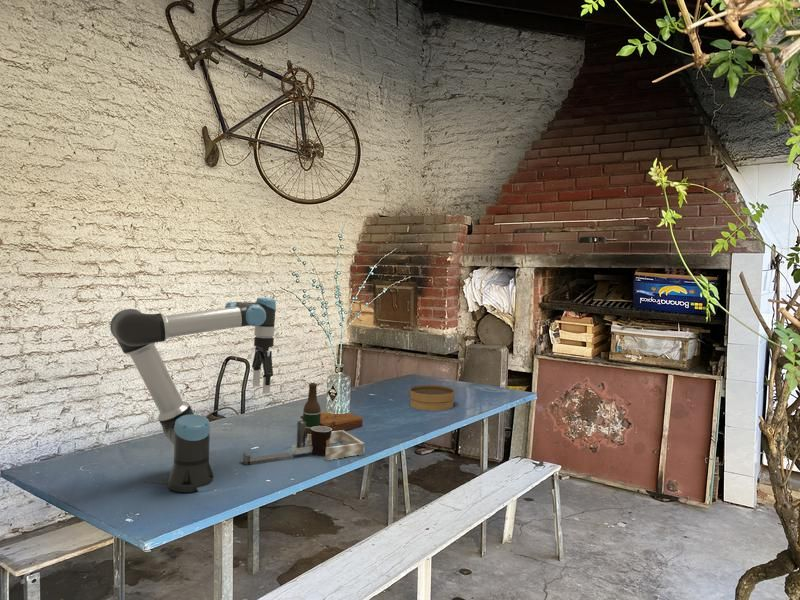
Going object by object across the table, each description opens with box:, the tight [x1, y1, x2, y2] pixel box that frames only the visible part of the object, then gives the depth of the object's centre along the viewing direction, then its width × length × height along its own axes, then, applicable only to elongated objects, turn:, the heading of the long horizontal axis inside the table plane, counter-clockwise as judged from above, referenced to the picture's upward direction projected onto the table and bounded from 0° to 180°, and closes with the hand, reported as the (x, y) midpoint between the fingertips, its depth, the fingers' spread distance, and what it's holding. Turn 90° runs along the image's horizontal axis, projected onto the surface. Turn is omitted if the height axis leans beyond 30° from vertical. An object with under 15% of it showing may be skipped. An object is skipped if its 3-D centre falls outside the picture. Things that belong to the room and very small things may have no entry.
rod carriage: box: [291, 420, 330, 455], centre depth 233 cm, size 13×10×12 cm
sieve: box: [408, 384, 455, 411], centre depth 318 cm, size 25×25×11 cm
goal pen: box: [306, 430, 366, 461], centre depth 240 cm, size 17×20×5 cm
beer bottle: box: [302, 382, 322, 438], centre depth 259 cm, size 8×8×24 cm
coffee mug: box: [311, 426, 332, 456], centre depth 237 cm, size 12×9×10 cm
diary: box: [300, 411, 364, 432], centre depth 273 cm, size 23×19×6 cm
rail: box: [242, 451, 293, 466], centre depth 225 cm, size 19×4×4 cm, turn 122°
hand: (261, 389), depth 227 cm, fingers open, 13 cm apart
